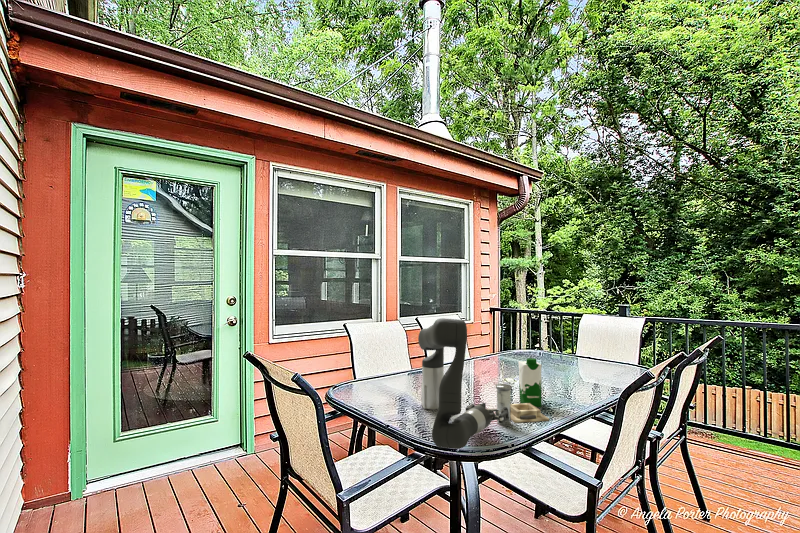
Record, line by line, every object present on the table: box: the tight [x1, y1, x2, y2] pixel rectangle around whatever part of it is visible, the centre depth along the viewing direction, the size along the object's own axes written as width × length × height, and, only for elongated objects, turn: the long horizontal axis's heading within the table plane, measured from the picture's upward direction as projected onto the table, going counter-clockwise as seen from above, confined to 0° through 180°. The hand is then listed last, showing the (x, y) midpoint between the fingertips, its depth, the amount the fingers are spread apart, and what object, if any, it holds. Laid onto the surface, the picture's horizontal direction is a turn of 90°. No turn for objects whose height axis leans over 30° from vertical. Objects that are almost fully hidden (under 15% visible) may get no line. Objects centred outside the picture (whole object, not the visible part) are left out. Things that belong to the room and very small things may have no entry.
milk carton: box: [518, 357, 543, 408], centre depth 178 cm, size 9×9×20 cm
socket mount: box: [511, 403, 550, 424], centre depth 163 cm, size 14×14×3 cm
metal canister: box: [495, 383, 512, 427], centre depth 155 cm, size 6×6×14 cm
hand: (495, 407), depth 149 cm, fingers open, 8 cm apart
